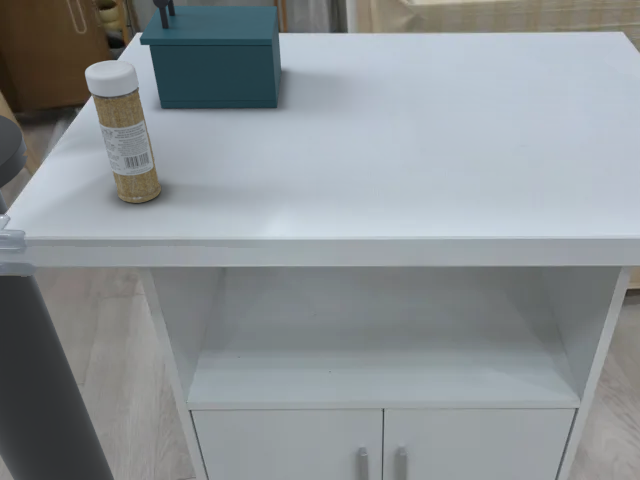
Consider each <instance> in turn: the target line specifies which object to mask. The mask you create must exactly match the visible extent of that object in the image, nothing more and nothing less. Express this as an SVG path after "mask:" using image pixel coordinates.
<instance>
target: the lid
mask: <svg viewBox="0 0 640 480" xmlns="http://www.w3.org/2000/svg"><path fill="white" fill-rule="evenodd" d="M152 3H153V5H154V6H155V7H156V10H155V11H154V13H153V14H152V16H151V18H150V20H149V21H148V23H147V25H146V26H145V29H143V31H142V34H141V35H140V36H139V44H140V46H149V45H272V43H273V37H274V30H275V24H276V17H277V15H278V6H276V5H272V6H271V5H270V6H269V5H266V6H265V5H175V4H174V0H152Z"/></svg>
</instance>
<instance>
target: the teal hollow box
mask: <svg viewBox="0 0 640 480" xmlns="http://www.w3.org/2000/svg"><path fill="white" fill-rule="evenodd" d="M278 16H279V15H278V14H277V17H276V24H275V30H274V37H273V43H272V45H148V46H149V52H150V58H151V62H152V67H153V68H152V69H153V73H154V79H155V82H156V89H157V94H158V98H159V104H160V108H161V109H276V108H278V101H279V94H280V84H281V76H282V60H281V59H282V58H281V45H280V44H281V43H280V31H279V17H278Z"/></svg>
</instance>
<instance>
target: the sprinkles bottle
mask: <svg viewBox="0 0 640 480" xmlns="http://www.w3.org/2000/svg"><path fill="white" fill-rule="evenodd" d="M84 76H85V80H86V85H87V89H88V91H89V92H90V94H91V96H92V99H93V103H94V105H95V111H96V114H97V117H98V123H99V127H100V131H101V134H102V139H103V142H104V146H105V150H106V153H107V158H108V162H109V165H110V169H111V171H112V174H113V178H114V181H115V184H116V190H117V196H118V198H119V199H120V200H122V201H123V202H128V203H134V204H135V203H136V204H138V203H139V204H140V203H145V202H146V203H147V202H148V201H150V200H153V199H155V198H157V197H158V196H159V194H160V193H161V191H162V187H161V183H160V182H159V176H158V172H157V168H156V163H155V155H154V151H153V146H152V141H151V137H150V136H151V135H150V133H149V131H148V126H147V123H146V118H145V114H144V109H143V105H142V100H141V96H140V93H139V91H140V87H139V86H140V82H139V78H138V74H137V70H136V67H135V66H134V64H133V63H131V62H129V61H125V60H120V59H119V60H118V59H117V60H115V59H113V60H112V59H111V60H104V61H98V62H96V63H92V64H91V65H89V66H88V67H87V68H86V69H85V71H84Z"/></svg>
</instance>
